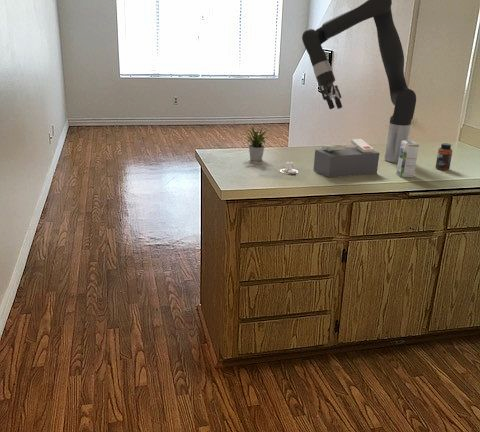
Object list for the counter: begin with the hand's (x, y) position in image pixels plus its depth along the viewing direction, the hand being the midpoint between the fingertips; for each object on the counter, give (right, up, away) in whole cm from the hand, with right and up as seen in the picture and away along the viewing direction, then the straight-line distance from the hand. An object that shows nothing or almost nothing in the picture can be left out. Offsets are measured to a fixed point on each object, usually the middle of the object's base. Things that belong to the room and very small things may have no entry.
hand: (336, 108), depth 231 cm
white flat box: (+9, -18, -8) cm, 22 cm away
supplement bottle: (+48, -27, +4) cm, 55 cm away
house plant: (-37, -22, +7) cm, 43 cm away
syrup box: (+27, -30, -9) cm, 42 cm away
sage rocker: (-4, -19, -13) cm, 24 cm away
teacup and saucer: (-24, -30, -11) cm, 40 cm away
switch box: (+2, -28, -7) cm, 29 cm away
